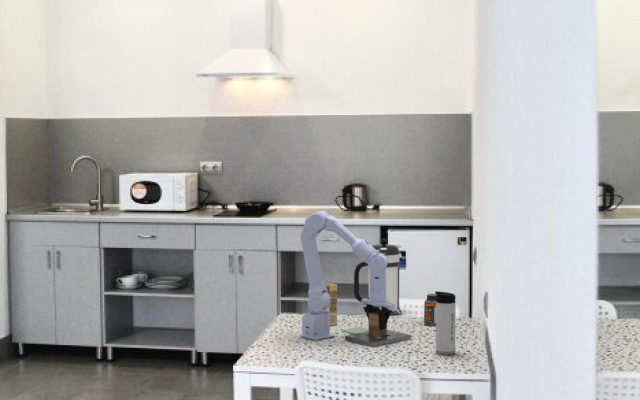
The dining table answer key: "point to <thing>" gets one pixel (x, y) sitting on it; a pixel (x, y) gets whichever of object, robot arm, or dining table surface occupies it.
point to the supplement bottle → (430, 310)
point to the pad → (355, 330)
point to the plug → (375, 325)
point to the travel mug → (445, 323)
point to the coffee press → (391, 274)
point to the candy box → (332, 302)
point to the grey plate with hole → (373, 342)
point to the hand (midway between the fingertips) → (377, 327)
